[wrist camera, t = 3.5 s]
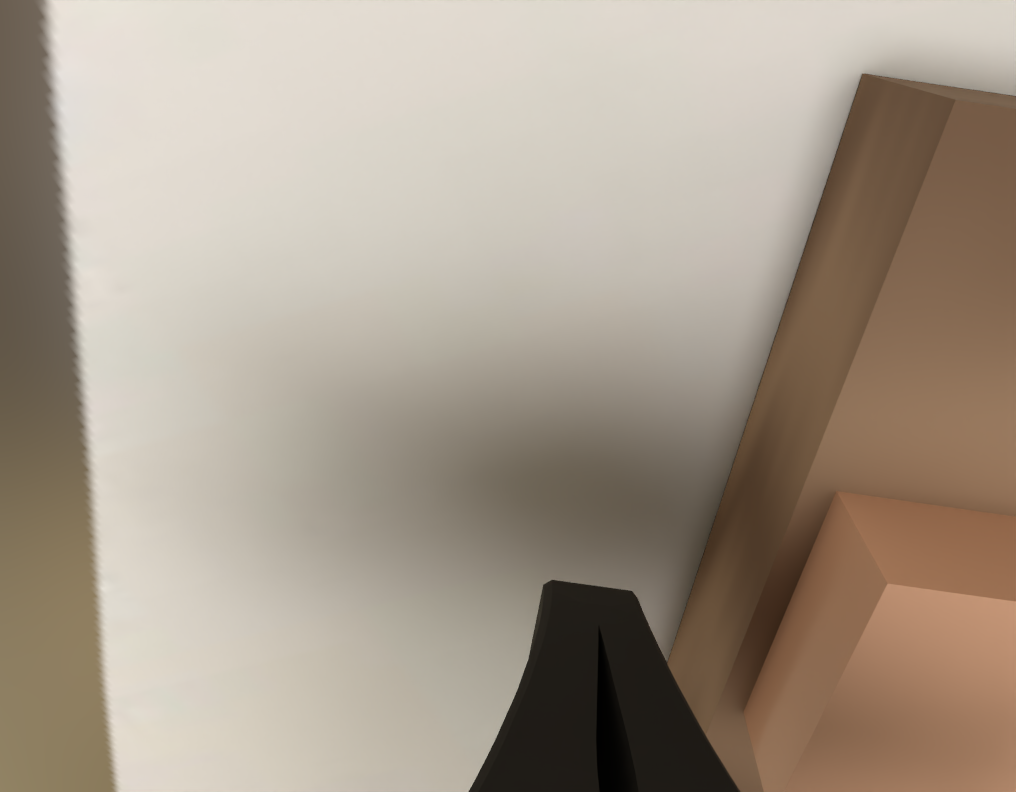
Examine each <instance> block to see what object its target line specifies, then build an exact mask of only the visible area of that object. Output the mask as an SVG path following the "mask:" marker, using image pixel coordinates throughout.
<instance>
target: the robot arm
mask: <svg viewBox="0 0 1016 792" xmlns="http://www.w3.org/2000/svg"><path fill="white" fill-rule="evenodd" d="M469 792H740V790H739V789H738V787H737V786H736V784H735V782H734V781H733V779H732V778H731V776H730V775H729V773H728V771H727V770H726V768H725V766H724V765H723V763H722V762H721V760H720V758H719V757H718V755H717V753H716V752H715V750H714V749H713V747H712V745H711V744H710V742H709V740H708V738H707V737H706V735H705V733H704V732H703V730H702V728H701V726H700V725H699V723H698V721H697V719H696V717H695V716H694V714H693V712H692V710H691V708H690V706H689V704H688V703H687V701H686V699H685V697H684V695H683V693H682V692H681V690H680V688H679V686H678V684H677V682H676V680H675V678H674V676H673V674H672V673H671V671H670V669H669V667H668V665H667V663H666V660H665V658H664V656H663V654H662V652H661V650H660V648H659V646H658V644H657V642H656V640H655V637H654V635H653V633H652V631H651V629H650V627H649V624H648V622H647V620H646V617H645V615H644V613H643V611H642V608H641V606H640V603H639V601H638V598H637V597H636V596H635V594H634V593H633V592H632V591H628V590H621V589H613V588H606V587H599V586H592V585H584V584H577V583H570V582H563V581H556V580H551V581H549V582H548V583H546V584H544V585H543V590H542V595H541V600H540V605H539V610H538V615H537V620H536V625H535V630H534V635H533V640H532V645H531V650H530V655H529V659H528V662H527V665H526V668H525V671H524V673H523V676H522V679H521V682H520V684H519V687H518V690H517V692H516V695H515V697H514V699H513V702H512V704H511V706H510V708H509V711H508V713H507V715H506V717H505V720H504V722H503V724H502V726H501V729H500V731H499V733H498V735H497V738H496V740H495V742H494V744H493V746H492V748H491V750H490V752H489V754H488V756H487V758H486V760H485V762H484V764H483V766H482V768H481V770H480V772H479V774H478V776H477V777H476V779H475V781H474V783H473V785H472V787H471V788H470V790H469Z"/></svg>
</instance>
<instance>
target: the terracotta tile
mask: <svg viewBox="0 0 1016 792" xmlns="http://www.w3.org/2000/svg"><path fill="white" fill-rule="evenodd" d="M743 713H744V716H745V720H746V724H747V728H748V732H749V736H750V740H751V744H752V748H753V752H754V756H755V759H756V763H757V767H758V771H759V775H760V779H761V783H762V787H763V791H764V792H1016V517H1015V516H1008V515H1001V514H994V513H987V512H980V511H973V510H966V509H959V508H952V507H945V506H938V505H931V504H924V503H917V502H910V501H903V500H896V499H889V498H882V497H875V496H868V495H861V494H853V493H846V492H839V491H836V493H835V496H834V498H833V500H832V503H831V505H830V507H829V510H828V512H827V515H826V517H825V519H824V522H823V524H822V526H821V529H820V531H819V534H818V536H817V538H816V541H815V543H814V545H813V548H812V550H811V553H810V555H809V557H808V560H807V562H806V564H805V567H804V569H803V572H802V574H801V576H800V579H799V581H798V583H797V586H796V588H795V591H794V593H793V595H792V598H791V600H790V603H789V605H788V607H787V610H786V612H785V614H784V617H783V619H782V622H781V624H780V626H779V629H778V631H777V633H776V636H775V638H774V641H773V643H772V645H771V648H770V650H769V652H768V655H767V657H766V660H765V662H764V664H763V667H762V669H761V671H760V674H759V676H758V679H757V681H756V683H755V686H754V688H753V690H752V693H751V695H750V698H749V700H748V702H747V705H746V707H745V709H744V712H743Z"/></svg>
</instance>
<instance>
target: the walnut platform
mask: <svg viewBox="0 0 1016 792" xmlns="http://www.w3.org/2000/svg"><path fill="white" fill-rule="evenodd" d="M836 491H839V492H846V493H853V494H861V495H868V496H875V497H882V498H889V499H896V500H903V501H910V502H917V503H924V504H931V505H938V506H945V507H952V508H959V509H966V510H973V511H980V512H987V513H994V514H1001V515H1008V516H1015V517H1016V96H1010V95H1003V94H997V93H990V92H983V91H976V90H970V89H963V88H956V87H949V86H943V85H936V84H929V83H922V82H916V81H909V80H902V79H895V78H889V77H882V76H875V75H868V74H863V75H862V78H861V81H860V84H859V87H858V90H857V93H856V96H855V99H854V102H853V105H852V108H851V111H850V114H849V117H848V120H847V123H846V126H845V129H844V132H843V135H842V138H841V141H840V144H839V147H838V150H837V153H836V156H835V159H834V162H833V165H832V168H831V171H830V174H829V177H828V180H827V183H826V186H825V189H824V192H823V195H822V198H821V202H820V205H819V208H818V211H817V214H816V217H815V220H814V223H813V226H812V229H811V232H810V235H809V238H808V241H807V244H806V247H805V250H804V253H803V256H802V259H801V262H800V265H799V268H798V271H797V274H796V277H795V280H794V283H793V286H792V289H791V292H790V295H789V298H788V301H787V304H786V307H785V310H784V313H783V316H782V319H781V322H780V325H779V328H778V331H777V334H776V337H775V340H774V343H773V346H772V349H771V352H770V355H769V358H768V361H767V364H766V367H765V370H764V373H763V376H762V379H761V382H760V385H759V388H758V391H757V394H756V397H755V400H754V403H753V406H752V409H751V412H750V415H749V418H748V421H747V424H746V427H745V431H744V434H743V437H742V440H741V443H740V446H739V449H738V452H737V455H736V458H735V461H734V464H733V467H732V470H731V473H730V476H729V479H728V482H727V485H726V488H725V491H724V494H723V497H722V500H721V503H720V506H719V509H718V512H717V515H716V518H715V521H714V524H713V527H712V530H711V533H710V536H709V539H708V542H707V545H706V548H705V551H704V554H703V557H702V560H701V563H700V566H699V569H698V572H697V575H696V578H695V581H694V584H693V587H692V590H691V593H690V596H689V599H688V602H687V605H686V608H685V611H684V614H683V617H682V620H681V623H680V626H679V629H678V632H677V635H676V638H675V641H674V644H673V647H672V650H671V653H670V656H669V659H668V663H667V665H668V667H669V669H670V671H671V673H672V674H673V676H674V678H675V680H676V682H677V684H678V686H679V688H680V690H681V692H682V693H683V695H684V697H685V699H686V701H687V703H688V704H689V706H690V708H691V710H692V712H693V714H694V716H695V717H696V719H697V721H698V723H699V725H700V726H701V728H702V730H703V732H704V733H705V735H706V737H707V738H708V740H709V742H710V744H711V745H712V747H713V749H714V750H715V752H716V753H717V755H718V757H719V758H720V760H721V762H722V763H723V765H724V766H725V768H726V770H727V771H728V773H729V775H730V776H731V778H732V779H733V781H734V782H735V784H736V786H737V787H738V789H739V790H740V792H764V791H763V787H762V783H761V779H760V775H759V771H758V767H757V763H756V759H755V756H754V752H753V748H752V744H751V740H750V736H749V732H748V728H747V724H746V720H745V716H744V713H743V712H744V709H745V707H746V705H747V702H748V700H749V698H750V695H751V693H752V690H753V688H754V686H755V683H756V681H757V679H758V676H759V674H760V671H761V669H762V667H763V664H764V662H765V660H766V657H767V655H768V652H769V650H770V648H771V645H772V643H773V641H774V638H775V636H776V633H777V631H778V629H779V626H780V624H781V622H782V619H783V617H784V614H785V612H786V610H787V607H788V605H789V603H790V600H791V598H792V595H793V593H794V591H795V588H796V586H797V583H798V581H799V579H800V576H801V574H802V572H803V569H804V567H805V564H806V562H807V560H808V557H809V555H810V553H811V550H812V548H813V545H814V543H815V541H816V538H817V536H818V534H819V531H820V529H821V526H822V524H823V522H824V519H825V517H826V515H827V512H828V510H829V507H830V505H831V503H832V500H833V498H834V496H835V493H836Z"/></svg>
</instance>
